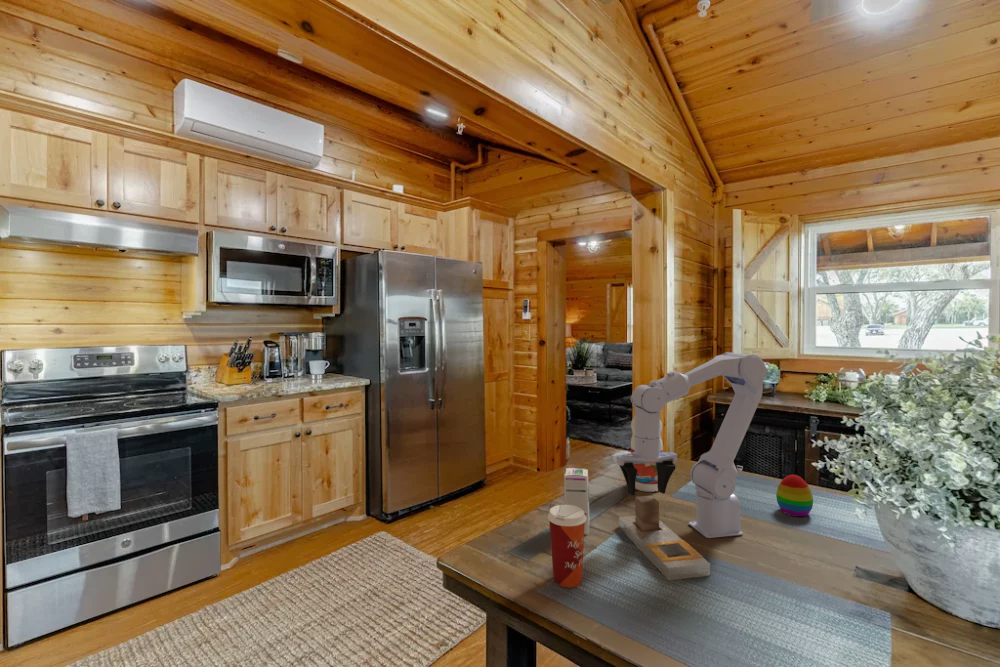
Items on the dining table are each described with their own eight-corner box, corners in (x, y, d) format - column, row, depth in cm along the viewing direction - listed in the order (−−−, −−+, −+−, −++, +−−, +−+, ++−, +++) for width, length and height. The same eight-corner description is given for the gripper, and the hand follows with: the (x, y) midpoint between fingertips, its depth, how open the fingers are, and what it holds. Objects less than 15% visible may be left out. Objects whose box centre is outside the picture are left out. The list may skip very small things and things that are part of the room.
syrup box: (589, 535, 112) (588, 475, 111) (564, 533, 113) (563, 474, 112) (589, 524, 117) (588, 468, 117) (566, 523, 118) (565, 467, 118)
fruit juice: (666, 484, 144) (665, 395, 143) (659, 494, 136) (658, 400, 135) (635, 479, 149) (634, 393, 148) (627, 489, 141) (626, 397, 140)
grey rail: (652, 523, 117) (652, 513, 117) (710, 575, 93) (709, 562, 93) (619, 526, 116) (618, 516, 115) (668, 580, 92) (668, 567, 92)
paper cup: (578, 595, 87) (577, 522, 87) (541, 583, 91) (540, 514, 91) (593, 575, 94) (592, 507, 94) (558, 565, 98) (557, 500, 98)
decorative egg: (799, 505, 126) (799, 469, 126) (820, 518, 118) (820, 480, 118) (769, 506, 126) (769, 470, 126) (789, 519, 118) (789, 481, 118)
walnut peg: (651, 532, 113) (650, 495, 112) (659, 539, 109) (658, 501, 108) (635, 533, 112) (635, 496, 112) (643, 541, 108) (642, 503, 108)
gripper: (666, 431, 115) (665, 485, 115) (611, 433, 112) (610, 488, 113) (682, 438, 108) (681, 495, 108) (623, 441, 105) (623, 499, 106)
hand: (646, 493), depth 110 cm, fingers open, 7 cm apart
